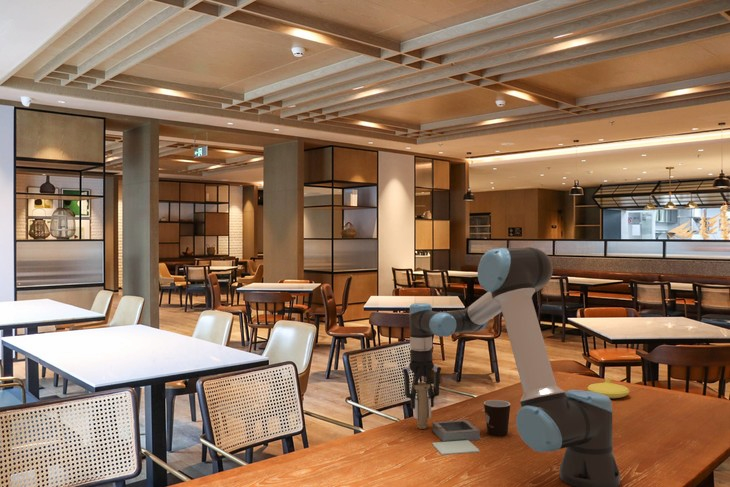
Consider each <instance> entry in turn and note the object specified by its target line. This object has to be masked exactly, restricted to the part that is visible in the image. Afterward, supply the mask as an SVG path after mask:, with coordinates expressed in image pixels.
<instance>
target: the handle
mask: <svg viewBox="0 0 730 487" xmlns="http://www.w3.org/2000/svg"><path fill="white" fill-rule="evenodd" d="M413 386H414V389H415V390H417V391H416V399H417V401H418V419H416V422H417V428H418V429H419V430H422V429H423V430H425V429H427V428H428V422H429V418H428V404H427V397H428V389H429V388H430V384H427V383H426V381H423V382H422V381H420V382H419V381H418V385H413Z"/></svg>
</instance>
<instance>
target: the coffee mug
mask: <svg viewBox="0 0 730 487" xmlns="http://www.w3.org/2000/svg"><path fill="white" fill-rule="evenodd" d="M483 407H484V414H485V416H484V417H485V423H486V431H487V432H486V433H487V435H488V436H491V437H496V438H499V437H500V438H501V437H502V438H503V437H505V436H508V432H509V431H508V430H509V424H510V423H509V422H510V411H511V403H510V402H509V401H506V400H502V399H501V400H499V399H489V400H485V401H483Z"/></svg>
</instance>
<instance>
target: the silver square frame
mask: <svg viewBox="0 0 730 487" xmlns="http://www.w3.org/2000/svg"><path fill="white" fill-rule="evenodd" d="M432 432H433V434H435V435H436V437H438V439H440V440H441V442H450V441H462V440H469V441H470V442H471V441H480V438H481V436H480V435H481V434H480V433H481V431H480V429H478V427H476V426H475V425H474V424H473V423H472V422H470V421H469V420H468V419H461V420H460V419H459V420H445V421H443V420H442V421H432Z"/></svg>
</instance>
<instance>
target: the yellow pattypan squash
mask: <svg viewBox="0 0 730 487" xmlns="http://www.w3.org/2000/svg"><path fill="white" fill-rule="evenodd" d="M587 391H590V392H595V393H599V394H603V395H605V396H607V397H609V398H610V399H621V398H624V397H626V396H627V395H629V393H630V389H629V388H628V387H627V386H625V385H622V384H617V383H613V382H612V378H608V377H607V378H604V382H598V383H592V384H589V385H588V386H587Z"/></svg>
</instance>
